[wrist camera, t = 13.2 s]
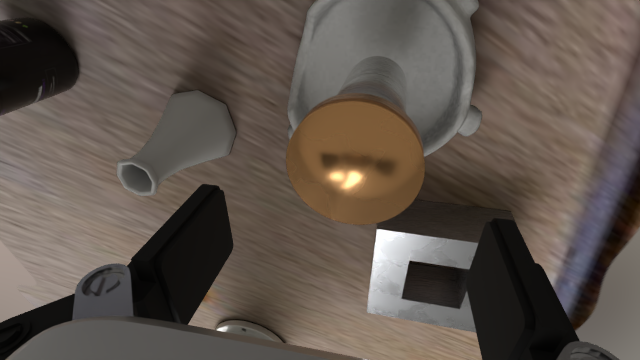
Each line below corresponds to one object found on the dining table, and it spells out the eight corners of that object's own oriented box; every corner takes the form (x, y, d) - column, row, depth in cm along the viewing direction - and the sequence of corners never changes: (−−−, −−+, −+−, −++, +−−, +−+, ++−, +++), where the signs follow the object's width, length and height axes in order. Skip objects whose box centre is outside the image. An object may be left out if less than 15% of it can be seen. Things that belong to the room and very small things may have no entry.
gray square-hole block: (476, 293, 37) (485, 334, 33) (370, 275, 39) (366, 312, 35) (510, 211, 30) (527, 249, 26) (380, 195, 32) (376, 229, 28)
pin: (425, 47, 20) (440, 112, 11) (409, 129, 23) (409, 234, 14) (339, 41, 21) (284, 95, 12) (334, 119, 24) (287, 213, 15)
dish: (302, 144, 31) (287, 171, 27) (286, -26, 24) (262, -23, 20) (463, 152, 28) (472, 184, 24) (502, -40, 21) (526, -40, 17)
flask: (235, 96, 30) (172, 146, 22) (238, 162, 34) (186, 225, 26) (163, 82, 31) (76, 125, 23) (174, 148, 35) (105, 206, 27)
